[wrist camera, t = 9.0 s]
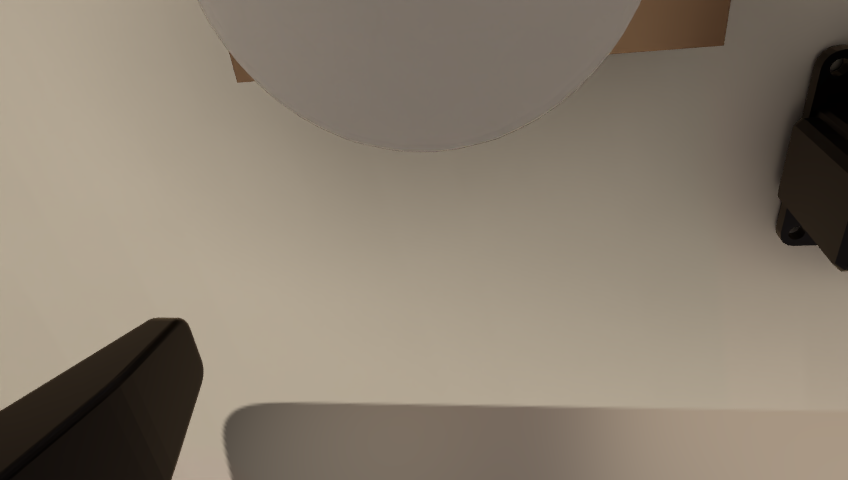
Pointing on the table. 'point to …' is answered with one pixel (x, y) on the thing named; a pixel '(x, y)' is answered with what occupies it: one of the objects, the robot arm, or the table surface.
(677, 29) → the block
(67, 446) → the robot arm
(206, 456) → the table surface
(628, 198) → the table surface
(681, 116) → the table surface
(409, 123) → the supplement bottle
